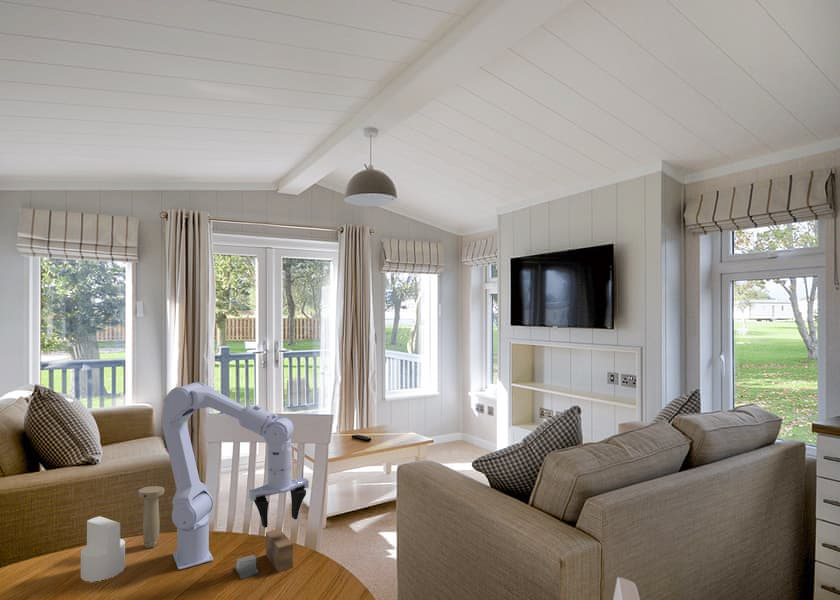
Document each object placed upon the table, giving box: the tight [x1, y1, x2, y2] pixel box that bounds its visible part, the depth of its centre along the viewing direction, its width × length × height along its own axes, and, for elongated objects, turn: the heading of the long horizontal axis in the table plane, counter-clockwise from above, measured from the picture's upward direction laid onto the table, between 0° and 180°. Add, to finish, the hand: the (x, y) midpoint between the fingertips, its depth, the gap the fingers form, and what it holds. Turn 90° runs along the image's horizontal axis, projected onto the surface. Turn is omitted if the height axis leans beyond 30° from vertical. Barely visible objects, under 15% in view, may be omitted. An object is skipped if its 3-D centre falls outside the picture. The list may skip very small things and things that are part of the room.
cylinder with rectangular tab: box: [80, 516, 126, 583], centre depth 119 cm, size 9×9×12 cm
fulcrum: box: [234, 554, 259, 580], centre depth 119 cm, size 6×4×3 cm, turn 34°
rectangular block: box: [265, 528, 294, 573], centre depth 123 cm, size 10×4×6 cm, turn 34°
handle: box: [137, 485, 165, 549], centre depth 132 cm, size 5×6×15 cm
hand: (279, 521), depth 123 cm, fingers open, 7 cm apart
